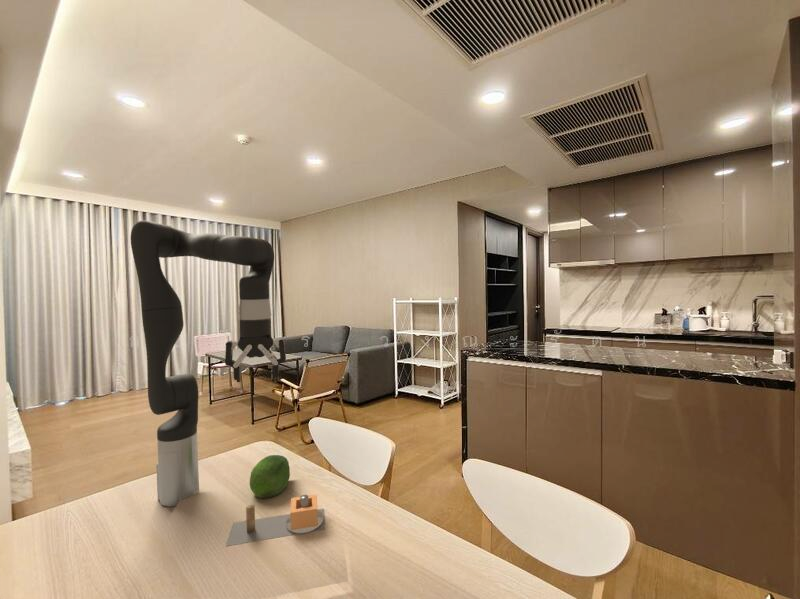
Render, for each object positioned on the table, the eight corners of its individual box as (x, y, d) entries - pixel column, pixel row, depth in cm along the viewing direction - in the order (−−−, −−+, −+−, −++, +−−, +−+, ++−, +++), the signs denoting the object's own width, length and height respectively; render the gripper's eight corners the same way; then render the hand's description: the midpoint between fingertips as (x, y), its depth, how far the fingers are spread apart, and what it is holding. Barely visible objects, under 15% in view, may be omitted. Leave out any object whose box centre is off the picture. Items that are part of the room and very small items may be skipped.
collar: (290, 530, 83) (290, 512, 83) (291, 514, 89) (291, 498, 89) (317, 525, 85) (317, 508, 85) (317, 510, 91) (316, 494, 91)
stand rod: (246, 533, 83) (245, 509, 83) (247, 528, 85) (246, 505, 85) (254, 532, 84) (253, 508, 83) (255, 527, 85) (255, 503, 85)
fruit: (267, 476, 111) (266, 443, 111) (299, 477, 110) (298, 444, 110) (241, 506, 96) (240, 469, 95) (279, 508, 95) (278, 470, 95)
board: (225, 552, 79) (225, 546, 79) (233, 529, 87) (232, 522, 87) (325, 535, 84) (325, 529, 84) (323, 514, 92) (323, 508, 92)
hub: (284, 537, 82) (284, 510, 82) (286, 513, 90) (286, 489, 90) (324, 530, 84) (323, 504, 84) (322, 508, 92) (322, 484, 92)
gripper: (221, 319, 88) (223, 386, 89) (283, 317, 92) (285, 382, 92) (227, 316, 96) (229, 378, 96) (285, 315, 99) (286, 375, 100)
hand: (257, 380), depth 94 cm, fingers open, 8 cm apart
